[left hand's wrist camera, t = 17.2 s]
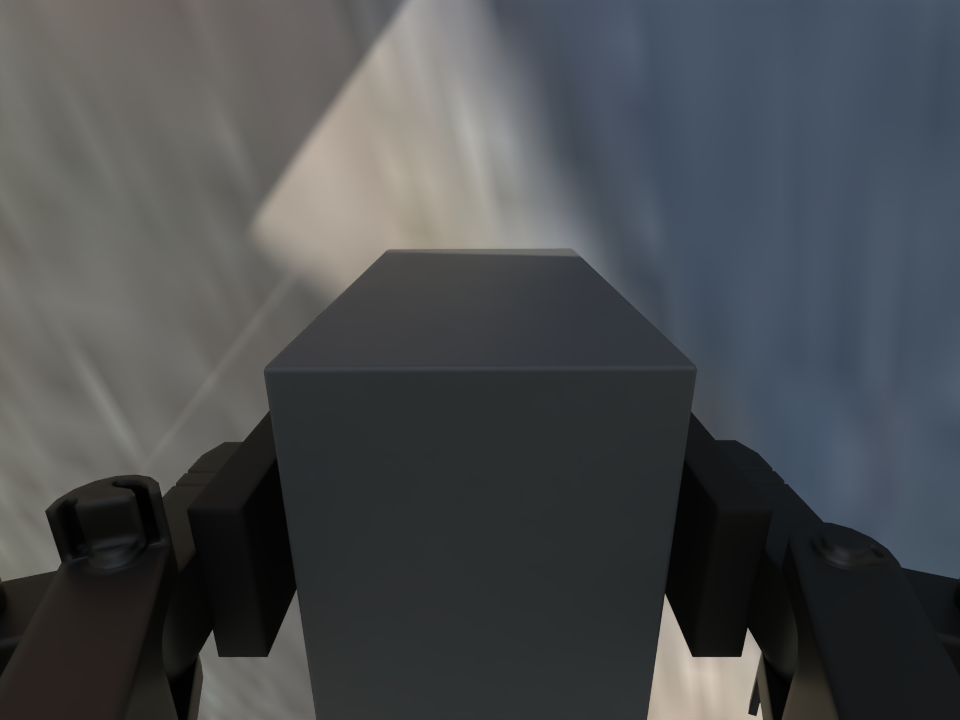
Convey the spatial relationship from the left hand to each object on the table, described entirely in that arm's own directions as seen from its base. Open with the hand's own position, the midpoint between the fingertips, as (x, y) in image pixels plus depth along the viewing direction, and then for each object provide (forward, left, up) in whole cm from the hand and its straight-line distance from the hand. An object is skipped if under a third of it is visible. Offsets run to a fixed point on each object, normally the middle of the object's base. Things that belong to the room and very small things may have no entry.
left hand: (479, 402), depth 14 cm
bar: (+9, -1, -2) cm, 9 cm away
